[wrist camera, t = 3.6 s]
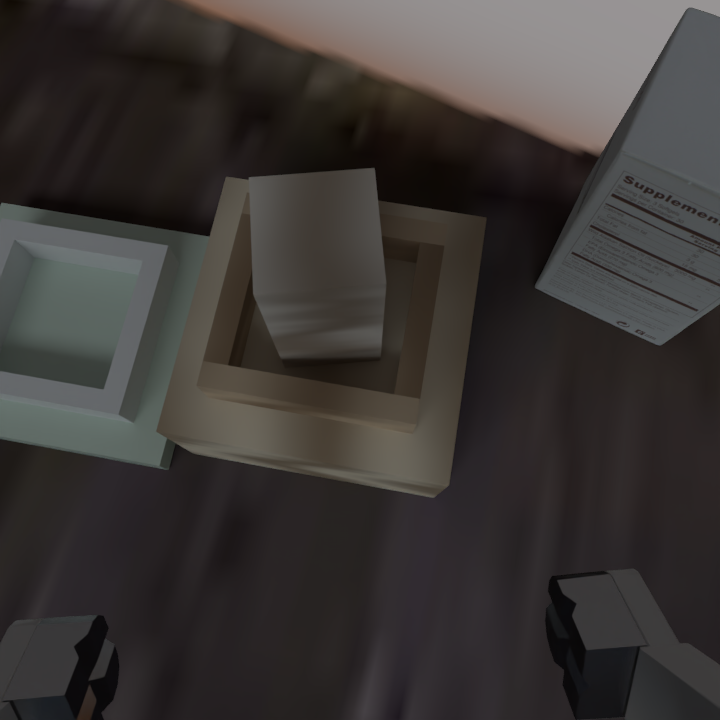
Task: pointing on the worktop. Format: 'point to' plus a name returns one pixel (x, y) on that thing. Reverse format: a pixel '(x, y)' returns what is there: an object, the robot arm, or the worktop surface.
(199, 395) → the birch stand
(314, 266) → the cream plug block
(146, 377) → the sage socket plate
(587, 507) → the worktop surface
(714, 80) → the supplement box
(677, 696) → the robot arm
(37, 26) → the worktop surface
